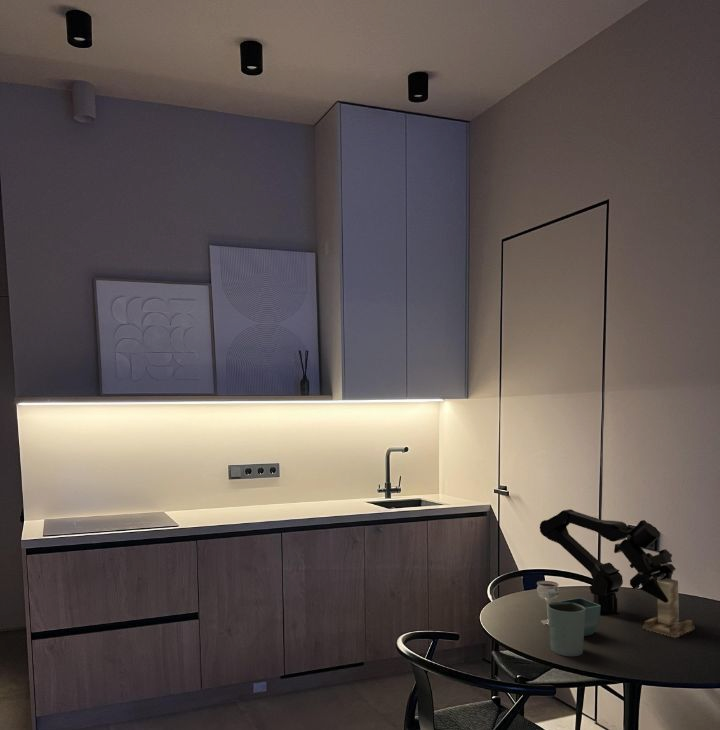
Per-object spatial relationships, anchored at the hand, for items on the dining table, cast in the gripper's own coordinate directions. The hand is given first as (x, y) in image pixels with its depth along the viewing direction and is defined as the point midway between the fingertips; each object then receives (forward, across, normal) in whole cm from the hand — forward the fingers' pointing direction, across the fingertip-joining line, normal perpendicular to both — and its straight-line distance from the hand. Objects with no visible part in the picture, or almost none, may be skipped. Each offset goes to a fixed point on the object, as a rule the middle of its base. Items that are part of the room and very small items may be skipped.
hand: (672, 600), depth 201 cm
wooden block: (+4, 0, +6) cm, 7 cm away
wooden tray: (+6, 0, +7) cm, 9 cm away
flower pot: (-5, -25, +18) cm, 31 cm away
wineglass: (-13, -23, +26) cm, 38 cm away
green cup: (-1, -39, +14) cm, 42 cm away
